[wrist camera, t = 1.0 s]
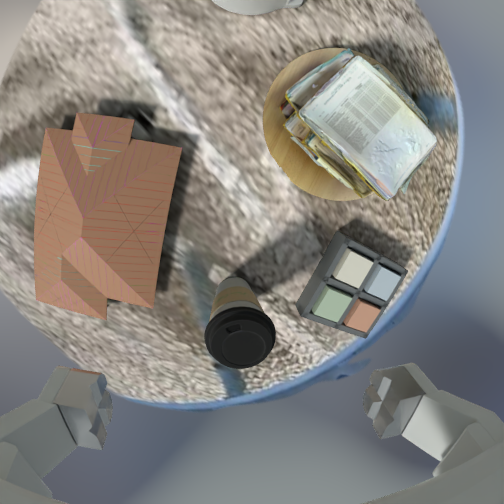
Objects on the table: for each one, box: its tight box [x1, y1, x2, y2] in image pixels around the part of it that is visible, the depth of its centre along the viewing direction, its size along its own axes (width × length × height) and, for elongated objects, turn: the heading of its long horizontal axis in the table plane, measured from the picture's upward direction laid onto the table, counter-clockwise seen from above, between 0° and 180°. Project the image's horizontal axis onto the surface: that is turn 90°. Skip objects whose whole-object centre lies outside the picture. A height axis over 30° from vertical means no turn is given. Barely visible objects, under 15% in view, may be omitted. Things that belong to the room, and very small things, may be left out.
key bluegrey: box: [364, 264, 401, 301], centre depth 50 cm, size 5×5×2 cm
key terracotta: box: [343, 298, 381, 332], centre depth 52 cm, size 5×5×2 cm
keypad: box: [295, 231, 408, 338], centre depth 52 cm, size 15×15×4 cm
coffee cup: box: [204, 277, 276, 369], centre depth 45 cm, size 9×9×15 cm
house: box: [34, 113, 182, 320], centre depth 42 cm, size 23×33×8 cm
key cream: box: [332, 248, 373, 288], centre depth 49 cm, size 5×5×2 cm
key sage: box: [311, 284, 352, 322], centre depth 50 cm, size 5×5×2 cm
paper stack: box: [263, 48, 437, 201], centre depth 37 cm, size 25×25×17 cm
